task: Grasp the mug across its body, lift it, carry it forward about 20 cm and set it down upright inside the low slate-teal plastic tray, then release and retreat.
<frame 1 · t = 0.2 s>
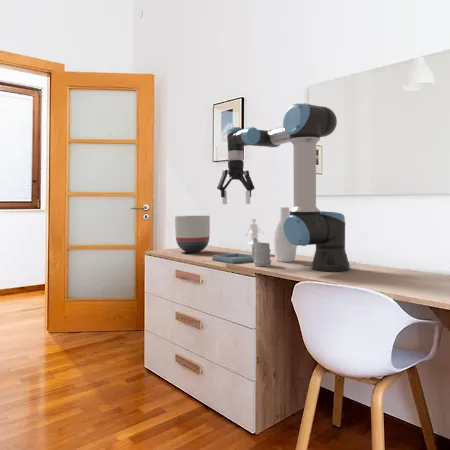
hand: (236, 204, 205), 27 cm above the table, fingers open, 13 cm apart
bottle: (285, 261, 201), on the table
planter: (193, 252, 249), on the table
figurine: (255, 254, 230), on the table
tray: (235, 260, 205), on the table
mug: (259, 265, 188), on the table
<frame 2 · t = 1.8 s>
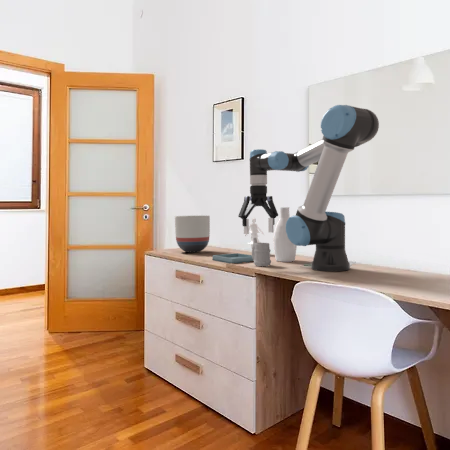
hand: (258, 233, 188), 14 cm above the table, fingers open, 13 cm apart
nothing on the table moved.
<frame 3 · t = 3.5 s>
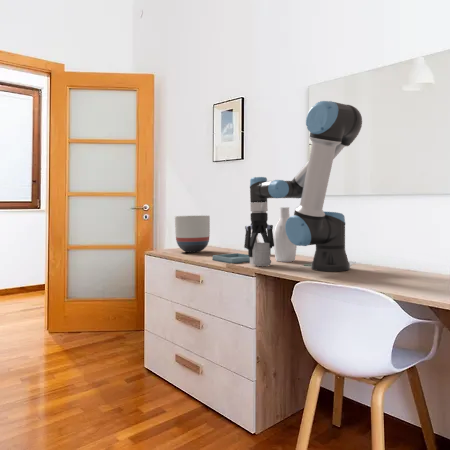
hand: (259, 263, 188), 1 cm above the table, fingers closed on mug, 7 cm apart
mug: (259, 265, 188), on the table, touching gripper
everything else where it was.
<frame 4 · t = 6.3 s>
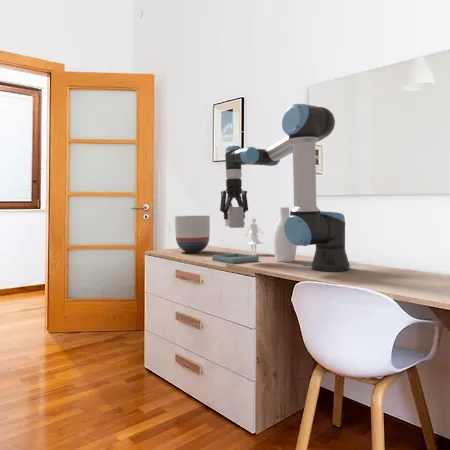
hand: (234, 225, 205), 17 cm above the table, fingers closed on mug, 7 cm apart
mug: (234, 227, 205), point 16 cm above the table, touching gripper
everything else where it was.
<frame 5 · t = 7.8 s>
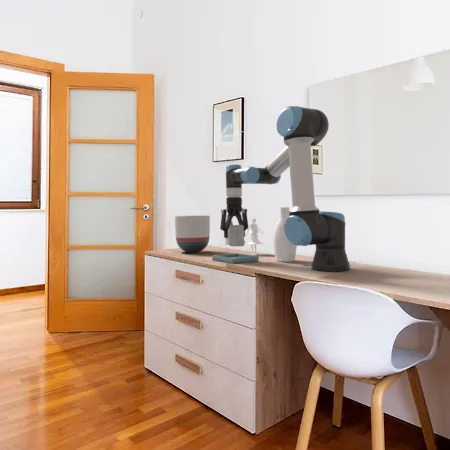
hand: (234, 244, 205), 8 cm above the table, fingers closed on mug, 7 cm apart
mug: (234, 245, 205), point 7 cm above the table, touching gripper
everything else where it was.
when the fingers open (3 cm above the table, at t = 9.3 s): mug drops 1 cm, resting on tray.
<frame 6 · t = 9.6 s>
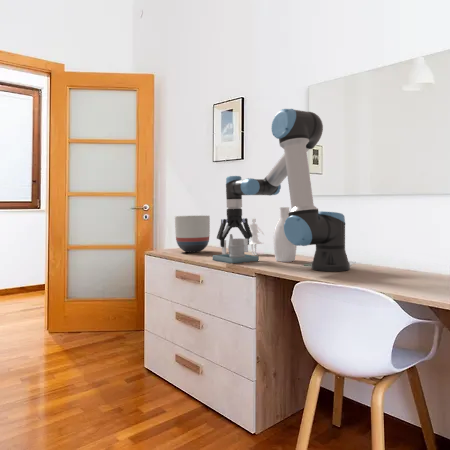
hand: (235, 252, 205), 4 cm above the table, fingers open, 12 cm apart
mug: (235, 259, 205), point 1 cm above the table, touching tray
everything else where it was.
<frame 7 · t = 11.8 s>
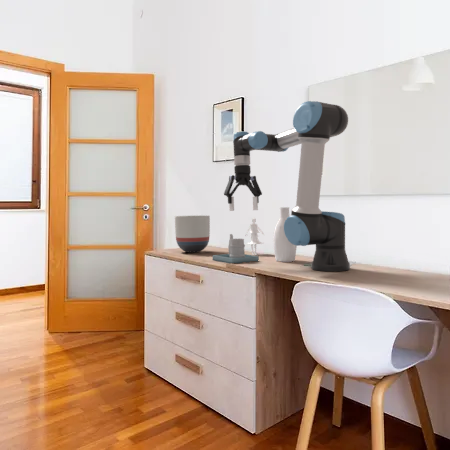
hand: (243, 210, 200), 24 cm above the table, fingers open, 13 cm apart
nothing on the table moved.
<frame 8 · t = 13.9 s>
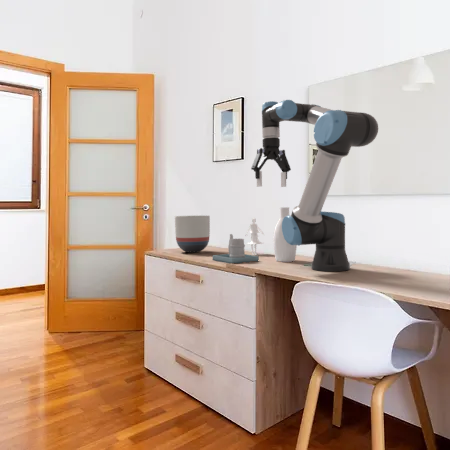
hand: (271, 186, 187), 35 cm above the table, fingers open, 13 cm apart
nothing on the table moved.
at the end: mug inside the target area on the tray (0.1 cm from its centre), point 0.6 cm above the tray's base; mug tilted 0°; the gripper is holding nothing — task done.
